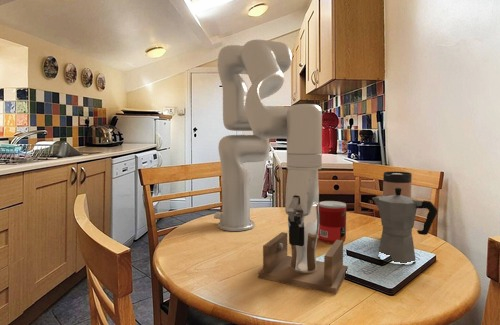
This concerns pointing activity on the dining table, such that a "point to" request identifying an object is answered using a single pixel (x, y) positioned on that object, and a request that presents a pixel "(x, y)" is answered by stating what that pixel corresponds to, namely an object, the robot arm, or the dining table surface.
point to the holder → (322, 279)
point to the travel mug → (397, 183)
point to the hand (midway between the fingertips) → (303, 238)
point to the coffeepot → (401, 224)
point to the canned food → (332, 221)
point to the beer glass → (306, 244)
